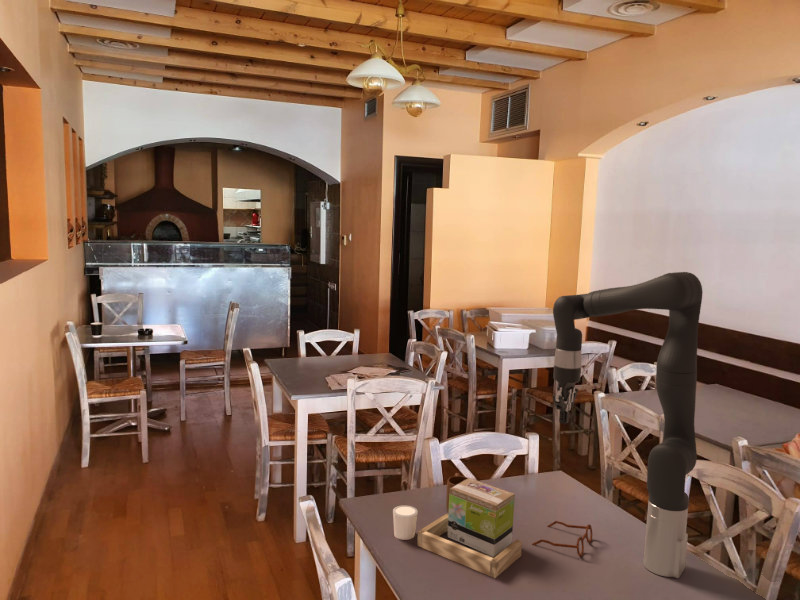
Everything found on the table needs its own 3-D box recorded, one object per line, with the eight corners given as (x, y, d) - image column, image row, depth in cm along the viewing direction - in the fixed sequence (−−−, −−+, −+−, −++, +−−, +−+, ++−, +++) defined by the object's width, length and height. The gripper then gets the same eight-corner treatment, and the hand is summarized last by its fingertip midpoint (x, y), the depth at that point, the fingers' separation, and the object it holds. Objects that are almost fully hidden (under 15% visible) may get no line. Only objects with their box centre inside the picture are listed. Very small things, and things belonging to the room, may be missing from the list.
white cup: (395, 542, 169) (396, 517, 169) (389, 530, 176) (390, 506, 175) (419, 539, 171) (420, 515, 170) (412, 527, 178) (413, 503, 177)
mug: (443, 498, 197) (444, 469, 196) (467, 498, 197) (469, 470, 196) (447, 516, 185) (448, 485, 184) (472, 516, 185) (474, 486, 184)
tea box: (446, 538, 172) (448, 487, 170) (466, 525, 180) (468, 476, 178) (493, 558, 163) (496, 504, 161) (513, 544, 170) (516, 491, 169)
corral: (521, 555, 164) (522, 541, 164) (495, 578, 154) (495, 562, 153) (446, 527, 179) (446, 513, 178) (417, 545, 168) (417, 531, 167)
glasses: (579, 560, 164) (580, 542, 163) (531, 546, 170) (532, 528, 170) (593, 539, 175) (594, 522, 174) (547, 526, 182) (548, 510, 181)
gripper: (570, 370, 173) (566, 431, 175) (589, 362, 184) (585, 420, 186) (545, 366, 178) (541, 425, 180) (564, 358, 188) (561, 415, 190)
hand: (563, 422), depth 183 cm, fingers closed
